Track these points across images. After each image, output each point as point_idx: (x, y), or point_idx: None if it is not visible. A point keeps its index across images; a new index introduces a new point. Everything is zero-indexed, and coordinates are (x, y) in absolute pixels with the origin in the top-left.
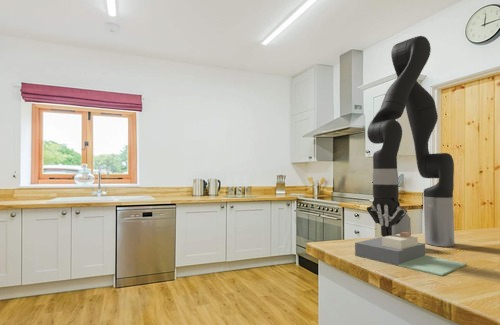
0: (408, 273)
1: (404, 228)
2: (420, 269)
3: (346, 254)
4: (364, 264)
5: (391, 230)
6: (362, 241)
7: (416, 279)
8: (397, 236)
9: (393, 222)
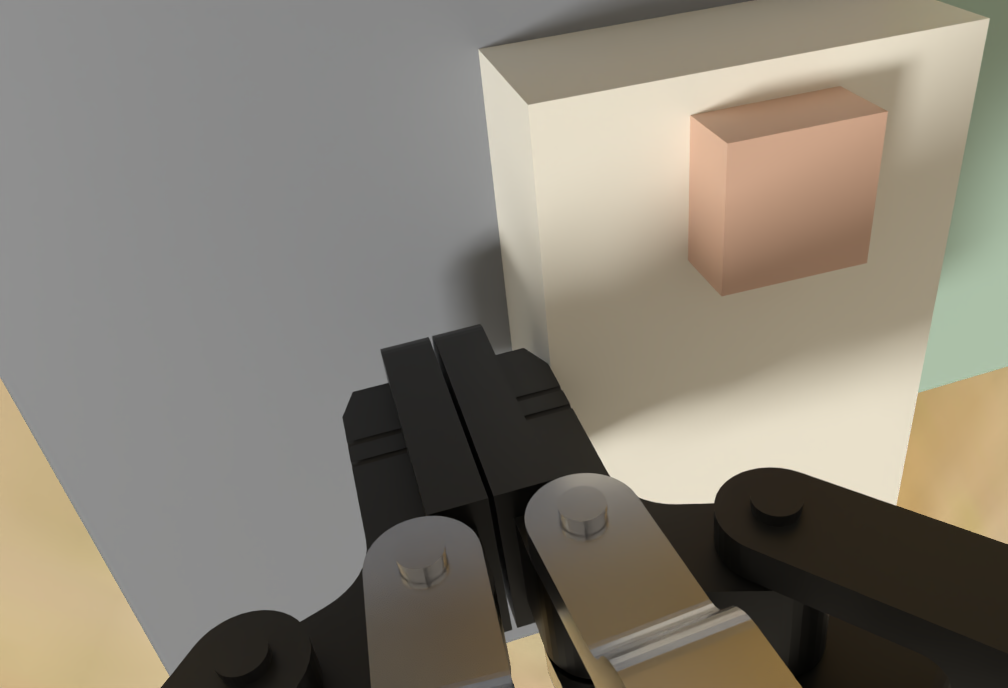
0: (905, 494)
1: None
2: (967, 373)
3: (113, 647)
4: (536, 656)
5: (584, 441)
6: (160, 619)
7: (993, 533)
8: (692, 359)
9: (821, 671)
